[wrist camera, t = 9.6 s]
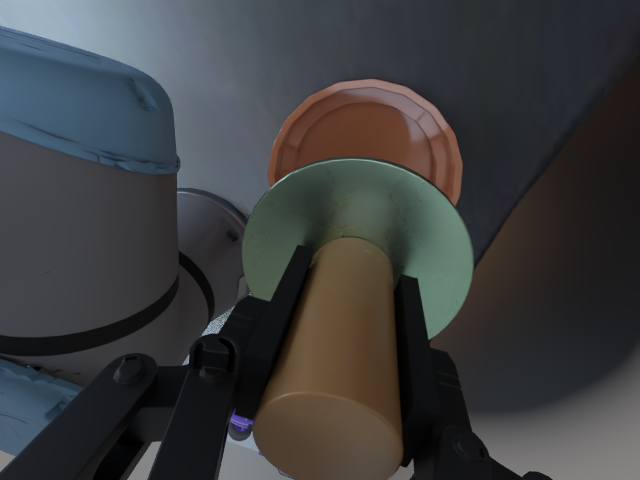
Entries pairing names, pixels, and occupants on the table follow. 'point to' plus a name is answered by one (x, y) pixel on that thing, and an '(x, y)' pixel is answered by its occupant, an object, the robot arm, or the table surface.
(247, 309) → the robot arm
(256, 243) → the green disc with rod
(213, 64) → the table surface
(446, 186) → the bowl
